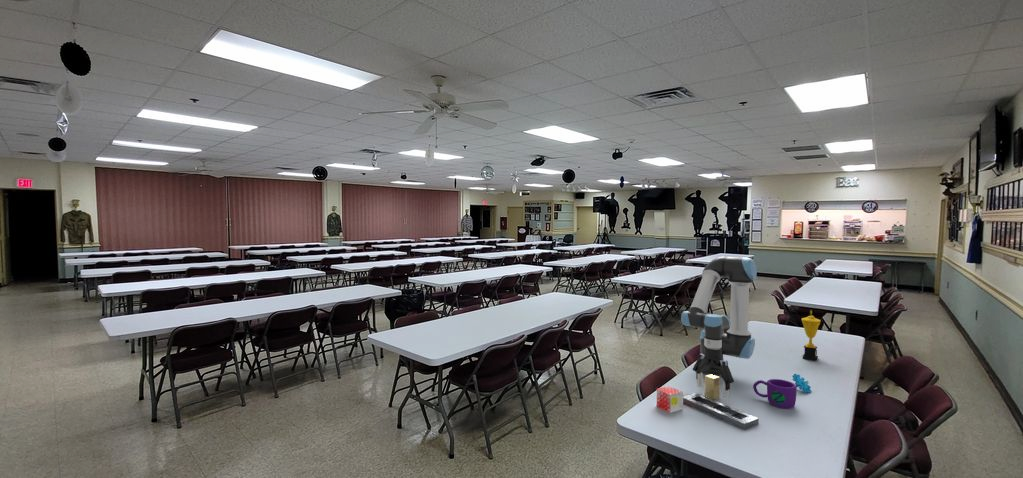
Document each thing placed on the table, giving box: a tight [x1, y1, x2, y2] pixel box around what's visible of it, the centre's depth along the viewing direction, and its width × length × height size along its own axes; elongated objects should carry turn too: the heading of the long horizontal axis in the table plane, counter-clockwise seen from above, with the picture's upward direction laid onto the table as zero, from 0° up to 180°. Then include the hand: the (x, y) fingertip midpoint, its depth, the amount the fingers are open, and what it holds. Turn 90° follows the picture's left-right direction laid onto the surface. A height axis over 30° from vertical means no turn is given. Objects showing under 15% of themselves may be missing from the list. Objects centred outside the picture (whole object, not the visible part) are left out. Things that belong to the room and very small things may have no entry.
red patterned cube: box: [656, 385, 684, 414], centre depth 189 cm, size 8×8×8 cm
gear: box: [791, 373, 812, 394], centre depth 210 cm, size 11×6×10 cm
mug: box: [752, 378, 798, 410], centre depth 194 cm, size 17×11×10 cm, turn 45°
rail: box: [683, 392, 760, 431], centre depth 184 cm, size 30×10×2 cm, turn 29°
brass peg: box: [704, 374, 721, 400], centre depth 201 cm, size 4×4×10 cm
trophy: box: [801, 310, 821, 362], centre depth 258 cm, size 19×10×30 cm, turn 138°
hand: (712, 391), depth 201 cm, fingers open, 13 cm apart
